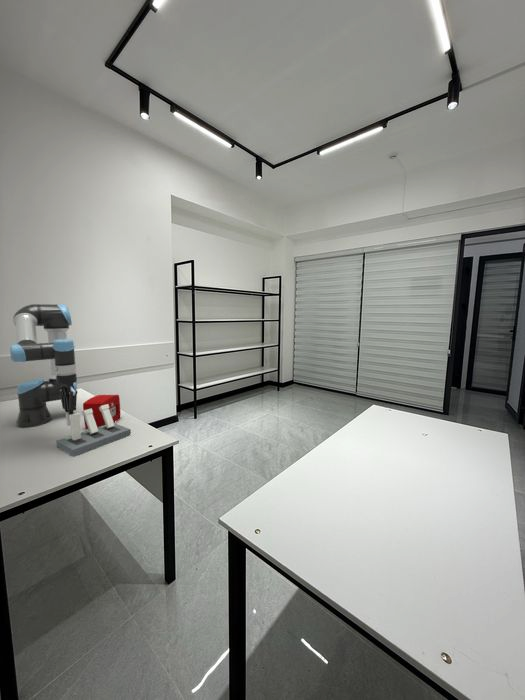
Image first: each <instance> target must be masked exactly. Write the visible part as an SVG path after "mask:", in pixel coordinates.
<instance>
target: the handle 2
mask: <svg viewBox="0 0 525 700" xmlns="http://www.w3.org/2000/svg"><path fill="white" fill-rule="evenodd" d="M99 409H100V411H101V412H102V415H103V418H104V421H105V424H106V426H107V429H108V428H111V427H114V426H115V425H114V423H115V422H113V419H112V416H111V414H110V411H109V405H108V404H106V405H102V406H100V407H99Z"/></svg>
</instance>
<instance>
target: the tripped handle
mask: <svg viewBox="0 0 525 700" xmlns="http://www.w3.org/2000/svg"><path fill="white" fill-rule="evenodd" d="M69 419H70V422H71V425H70V431H71V436H72V440H77V439H80V438H81V433H82V430H81V429H82V428H81V420H80V419H81V413H80V412H74V414H70V415H69Z"/></svg>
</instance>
